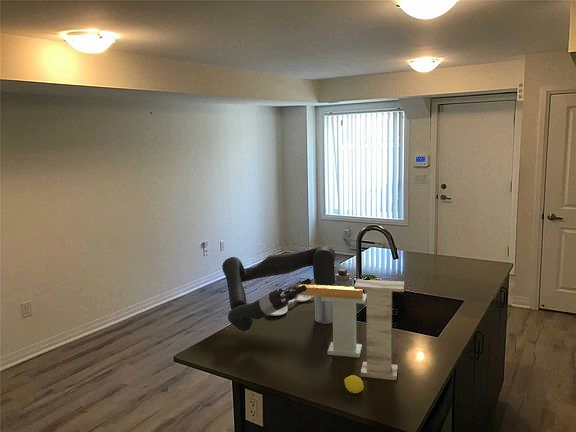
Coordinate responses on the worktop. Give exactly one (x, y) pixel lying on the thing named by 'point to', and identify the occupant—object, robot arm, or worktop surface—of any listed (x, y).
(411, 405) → the worktop surface
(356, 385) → the lemon
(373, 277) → the plant pot
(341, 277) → the perfume bottle
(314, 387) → the worktop surface
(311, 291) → the wooden block
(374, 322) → the tall pedestal
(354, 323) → the white i-beam column
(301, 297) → the spoon
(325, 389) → the worktop surface
